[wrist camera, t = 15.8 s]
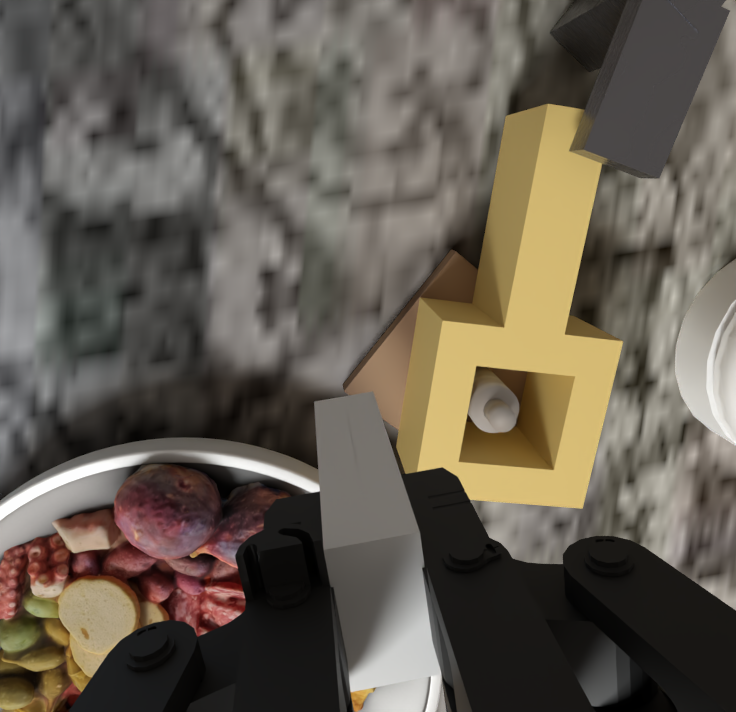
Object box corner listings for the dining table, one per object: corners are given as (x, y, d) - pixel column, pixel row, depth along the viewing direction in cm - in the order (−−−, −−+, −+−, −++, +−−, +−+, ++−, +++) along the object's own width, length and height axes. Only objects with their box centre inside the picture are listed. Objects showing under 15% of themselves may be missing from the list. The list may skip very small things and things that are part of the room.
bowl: (426, 788, 47) (450, 904, 40) (-2, 835, 45) (-64, 969, 37) (428, 402, 39) (458, 456, 32) (-95, 431, 37) (-198, 497, 29)
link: (541, 459, 39) (582, 508, 34) (396, 447, 38) (413, 495, 32) (613, 133, 35) (676, 124, 29) (450, 106, 33) (481, 92, 28)
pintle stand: (451, 249, 37) (494, 270, 28) (575, 352, 39) (649, 399, 31) (342, 384, 38) (354, 442, 30) (468, 475, 40) (511, 552, 32)
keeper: (587, -17, 34) (702, -93, 24) (661, 59, 35) (797, 15, 25) (475, 127, 35) (541, 109, 25) (550, 195, 36) (639, 201, 27)
